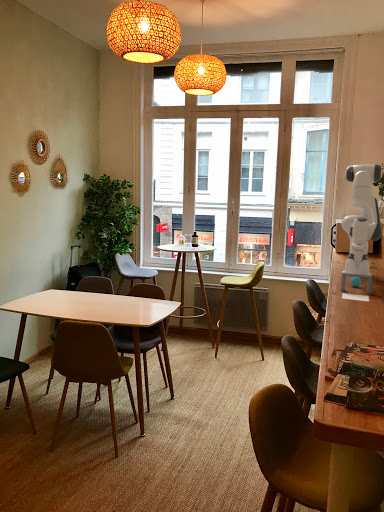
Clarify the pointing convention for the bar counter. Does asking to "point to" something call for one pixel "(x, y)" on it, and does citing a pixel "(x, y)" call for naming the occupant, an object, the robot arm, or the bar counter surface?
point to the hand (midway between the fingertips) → (356, 269)
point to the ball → (356, 281)
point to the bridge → (357, 276)
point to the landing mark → (355, 297)
